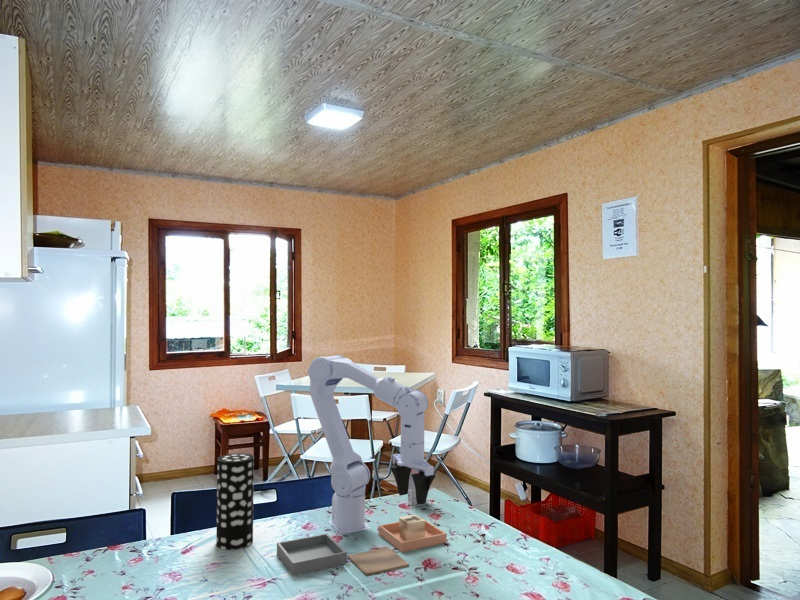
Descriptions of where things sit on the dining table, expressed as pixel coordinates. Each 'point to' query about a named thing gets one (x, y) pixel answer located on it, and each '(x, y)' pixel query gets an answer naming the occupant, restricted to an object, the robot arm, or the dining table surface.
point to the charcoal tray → (311, 554)
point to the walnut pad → (377, 561)
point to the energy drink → (412, 491)
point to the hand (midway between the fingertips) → (412, 498)
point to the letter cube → (411, 527)
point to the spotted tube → (235, 501)
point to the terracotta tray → (431, 538)
